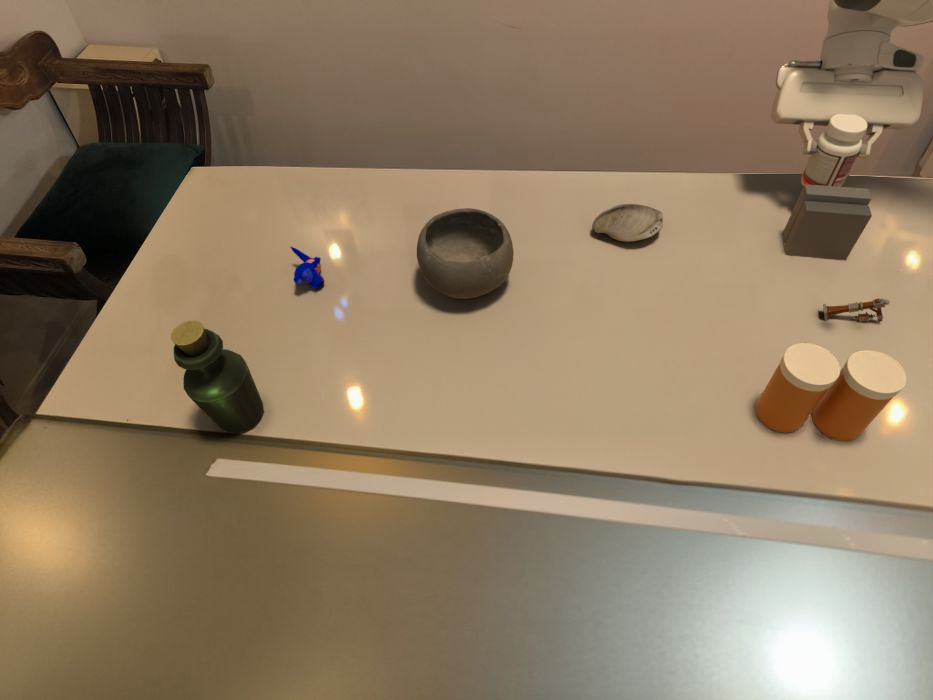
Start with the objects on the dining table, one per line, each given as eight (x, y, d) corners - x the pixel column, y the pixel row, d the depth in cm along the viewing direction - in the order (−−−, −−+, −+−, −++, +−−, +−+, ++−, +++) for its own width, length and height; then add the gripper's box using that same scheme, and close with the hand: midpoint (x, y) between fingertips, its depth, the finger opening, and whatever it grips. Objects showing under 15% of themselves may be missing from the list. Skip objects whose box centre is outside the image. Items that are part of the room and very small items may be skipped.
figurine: (299, 297, 99) (290, 276, 95) (297, 266, 103) (289, 244, 100) (328, 291, 99) (320, 270, 95) (325, 261, 104) (317, 239, 100)
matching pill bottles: (752, 390, 83) (781, 339, 74) (858, 404, 80) (900, 353, 72) (756, 429, 79) (786, 380, 70) (867, 444, 77) (912, 396, 68)
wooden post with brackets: (890, 323, 87) (890, 302, 84) (826, 331, 91) (824, 311, 88) (888, 314, 88) (888, 293, 85) (824, 322, 92) (822, 302, 89)
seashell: (597, 253, 101) (600, 230, 97) (586, 221, 106) (589, 198, 102) (668, 246, 101) (674, 223, 97) (654, 214, 106) (660, 191, 102)
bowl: (494, 239, 104) (492, 192, 96) (526, 299, 95) (528, 252, 87) (411, 262, 102) (403, 215, 94) (436, 325, 93) (429, 279, 85)
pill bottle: (836, 174, 101) (867, 111, 92) (843, 197, 97) (876, 134, 89) (797, 172, 102) (823, 110, 93) (802, 195, 98) (830, 132, 90)
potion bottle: (252, 446, 82) (197, 366, 68) (200, 432, 84) (137, 352, 70) (280, 397, 87) (235, 313, 72) (231, 385, 88) (177, 301, 74)
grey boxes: (782, 233, 101) (804, 184, 93) (840, 238, 99) (868, 188, 92) (785, 254, 98) (809, 205, 90) (845, 260, 96) (875, 210, 89)
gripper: (785, 52, 92) (770, 147, 93) (936, 57, 88) (917, 155, 90) (773, 66, 98) (759, 155, 100) (913, 71, 94) (896, 163, 96)
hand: (835, 155), depth 95 cm, fingers closed on pill bottle, 6 cm apart
